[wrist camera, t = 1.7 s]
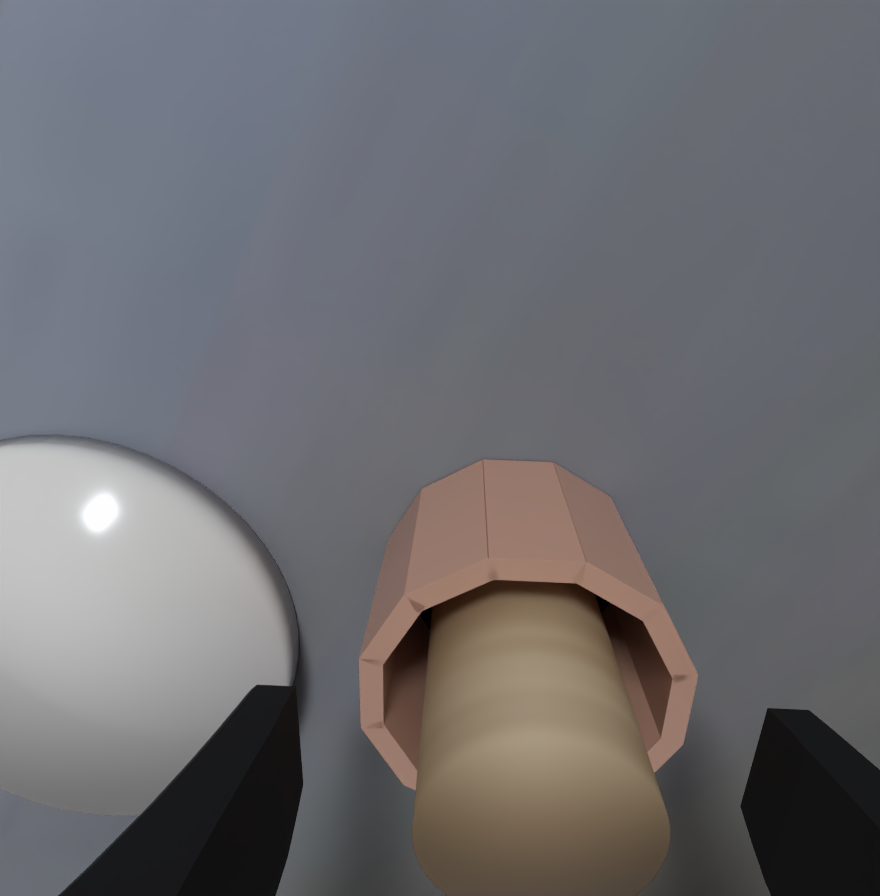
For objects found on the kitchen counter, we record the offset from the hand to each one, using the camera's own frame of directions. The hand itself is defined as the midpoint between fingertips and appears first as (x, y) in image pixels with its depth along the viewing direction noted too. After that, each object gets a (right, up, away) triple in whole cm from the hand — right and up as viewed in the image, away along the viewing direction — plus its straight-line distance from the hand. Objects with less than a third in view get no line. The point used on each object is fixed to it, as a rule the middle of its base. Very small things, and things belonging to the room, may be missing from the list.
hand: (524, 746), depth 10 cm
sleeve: (0, +2, +5) cm, 5 cm away
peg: (0, +2, +5) cm, 5 cm away
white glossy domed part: (-10, 0, +6) cm, 11 cm away
